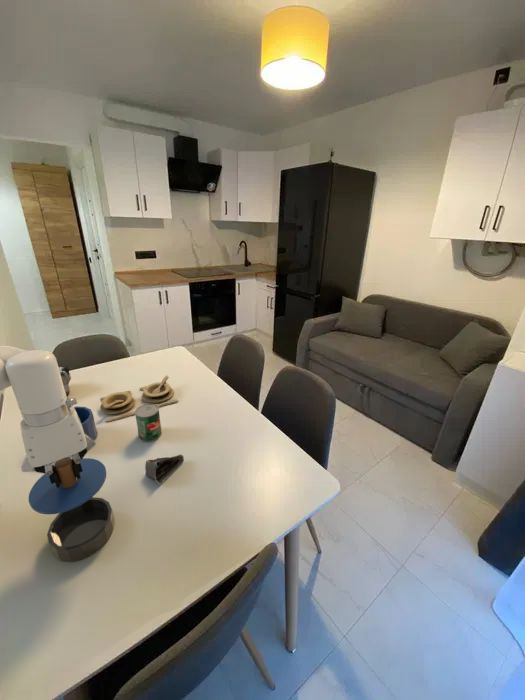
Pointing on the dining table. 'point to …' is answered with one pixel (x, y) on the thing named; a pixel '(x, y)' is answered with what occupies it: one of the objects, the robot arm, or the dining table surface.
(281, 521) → the dining table surface
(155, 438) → the canned tomato
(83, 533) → the bowl
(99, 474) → the pot lid
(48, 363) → the robot arm
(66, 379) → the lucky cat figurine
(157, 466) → the chocolate cake
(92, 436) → the pot
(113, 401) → the tableware set
